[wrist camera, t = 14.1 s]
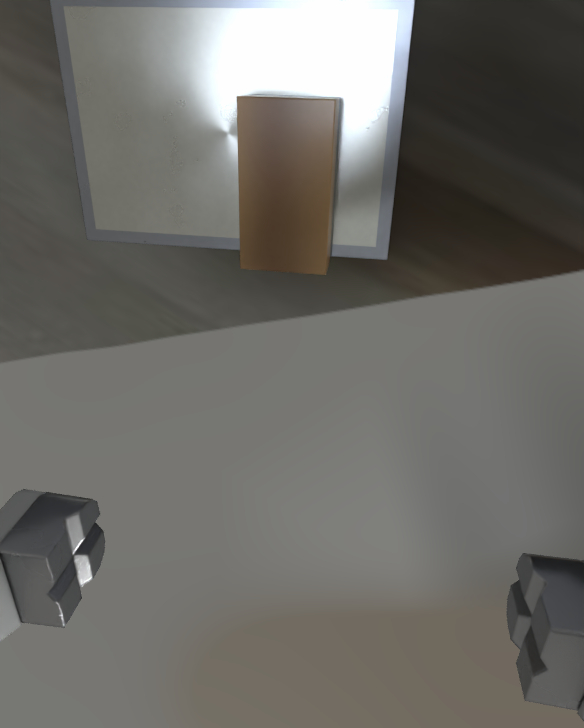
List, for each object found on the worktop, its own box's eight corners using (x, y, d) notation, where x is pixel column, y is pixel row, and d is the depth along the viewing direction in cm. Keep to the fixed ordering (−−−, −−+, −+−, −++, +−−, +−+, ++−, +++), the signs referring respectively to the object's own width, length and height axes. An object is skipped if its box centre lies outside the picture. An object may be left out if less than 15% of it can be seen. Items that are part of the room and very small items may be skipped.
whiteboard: (415, -7, 28) (416, -10, 27) (387, 255, 35) (387, 260, 34) (57, -9, 31) (47, -12, 30) (93, 236, 37) (86, 240, 36)
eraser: (341, 96, 30) (335, 99, 27) (331, 255, 34) (325, 275, 31) (253, 94, 31) (236, 95, 27) (254, 249, 35) (239, 268, 31)
